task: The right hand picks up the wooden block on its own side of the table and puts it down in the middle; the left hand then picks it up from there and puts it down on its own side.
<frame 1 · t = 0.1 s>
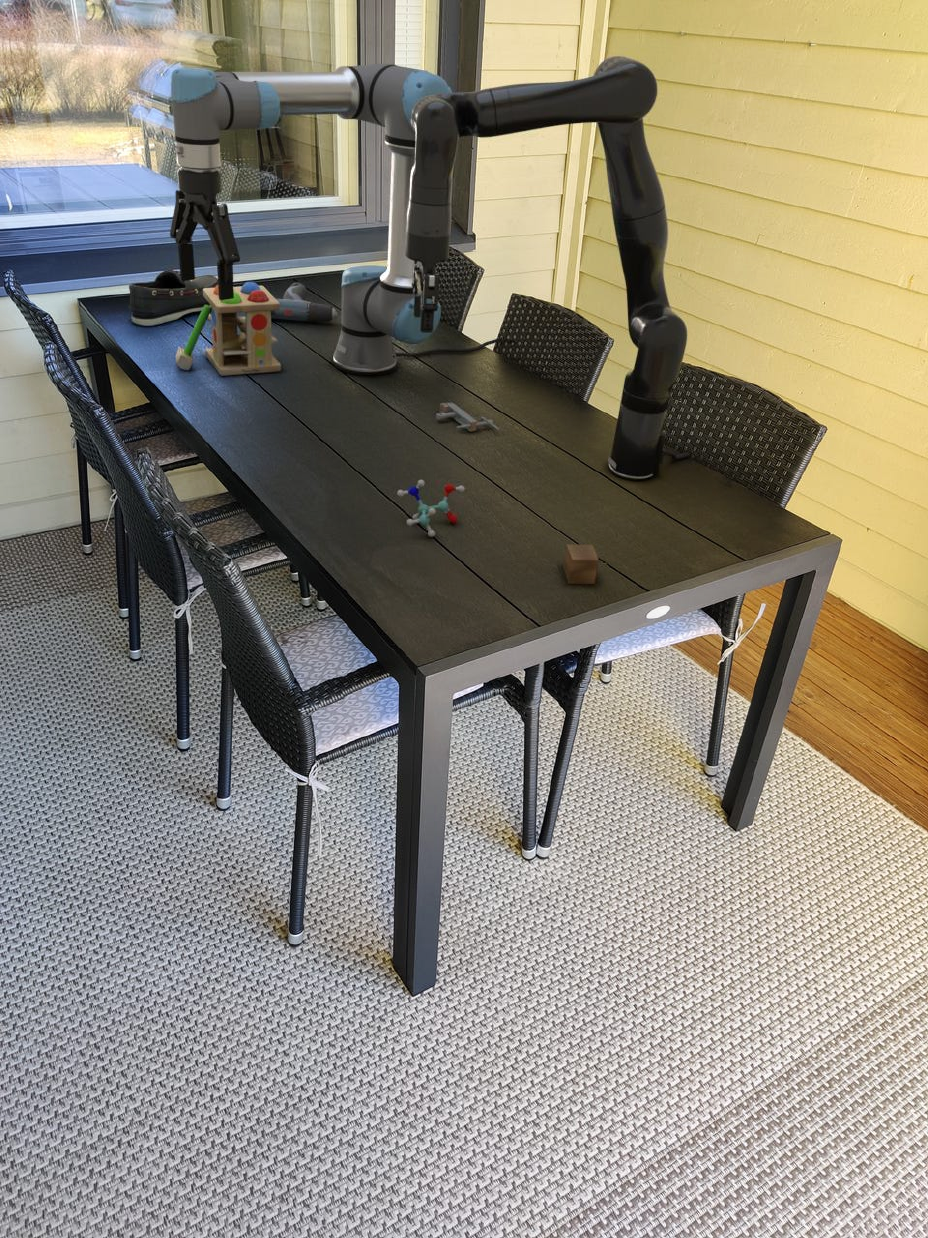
left hand: (206, 289, 186), 28 cm above the table, tool pointing down, fingers open, 13 cm apart
right hand: (422, 324, 175), 29 cm above the table, tool pointing down, fingers open, 8 cm apart
molecular model: (426, 524, 175), on the table
block: (578, 576, 165), on the table
power drill: (305, 313, 267), on the table
pounding bench toy: (225, 365, 230), on the table
boat shoe: (178, 310, 260), on the table
clamp: (464, 425, 213), on the table
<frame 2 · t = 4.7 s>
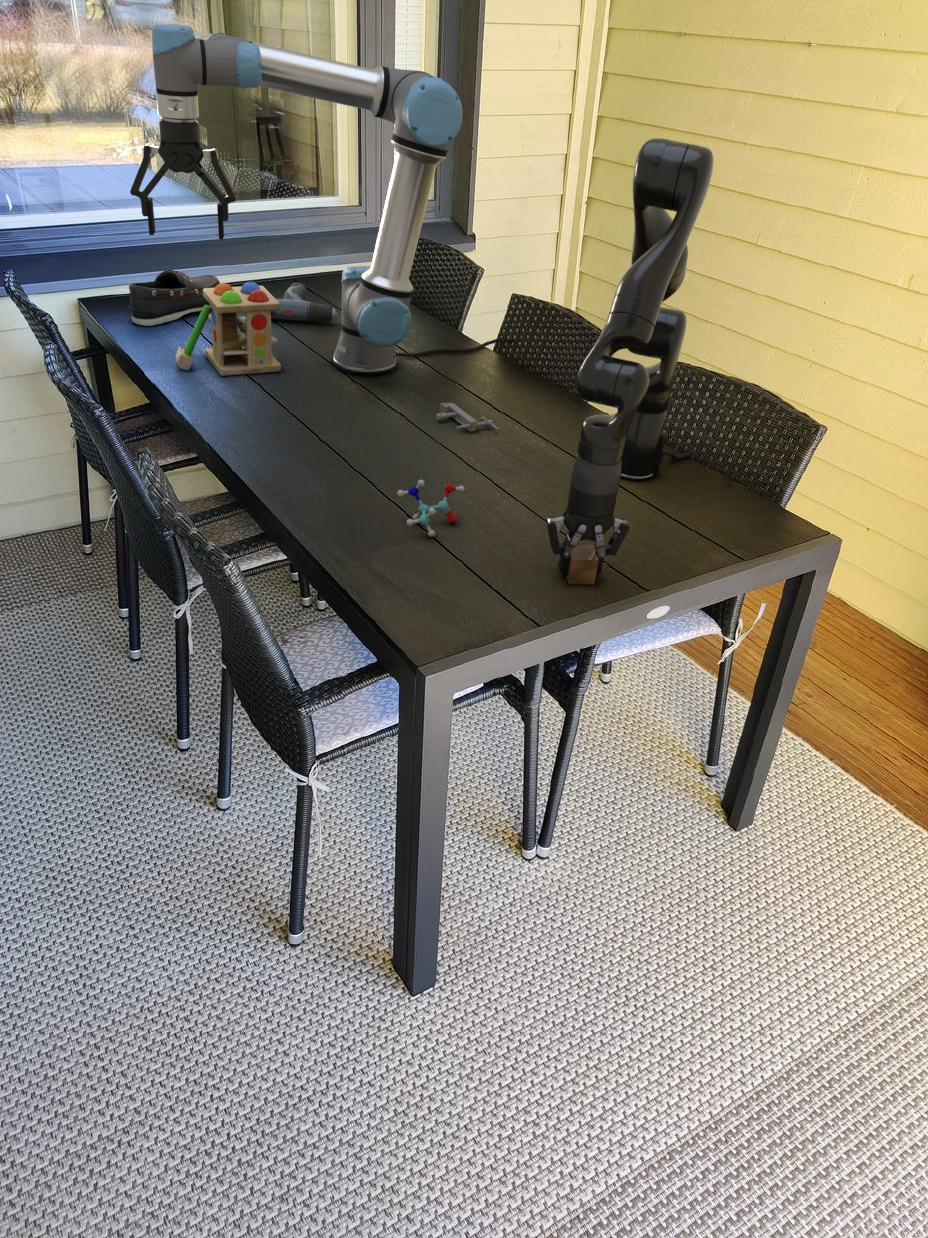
left hand: (187, 235, 198), 33 cm above the table, tool pointing down, fingers open, 13 cm apart
right hand: (579, 573, 164), 1 cm above the table, tool pointing down, fingers closed on block, 4 cm apart
block: (578, 576, 165), on the table, touching right hand
everything else where it was.
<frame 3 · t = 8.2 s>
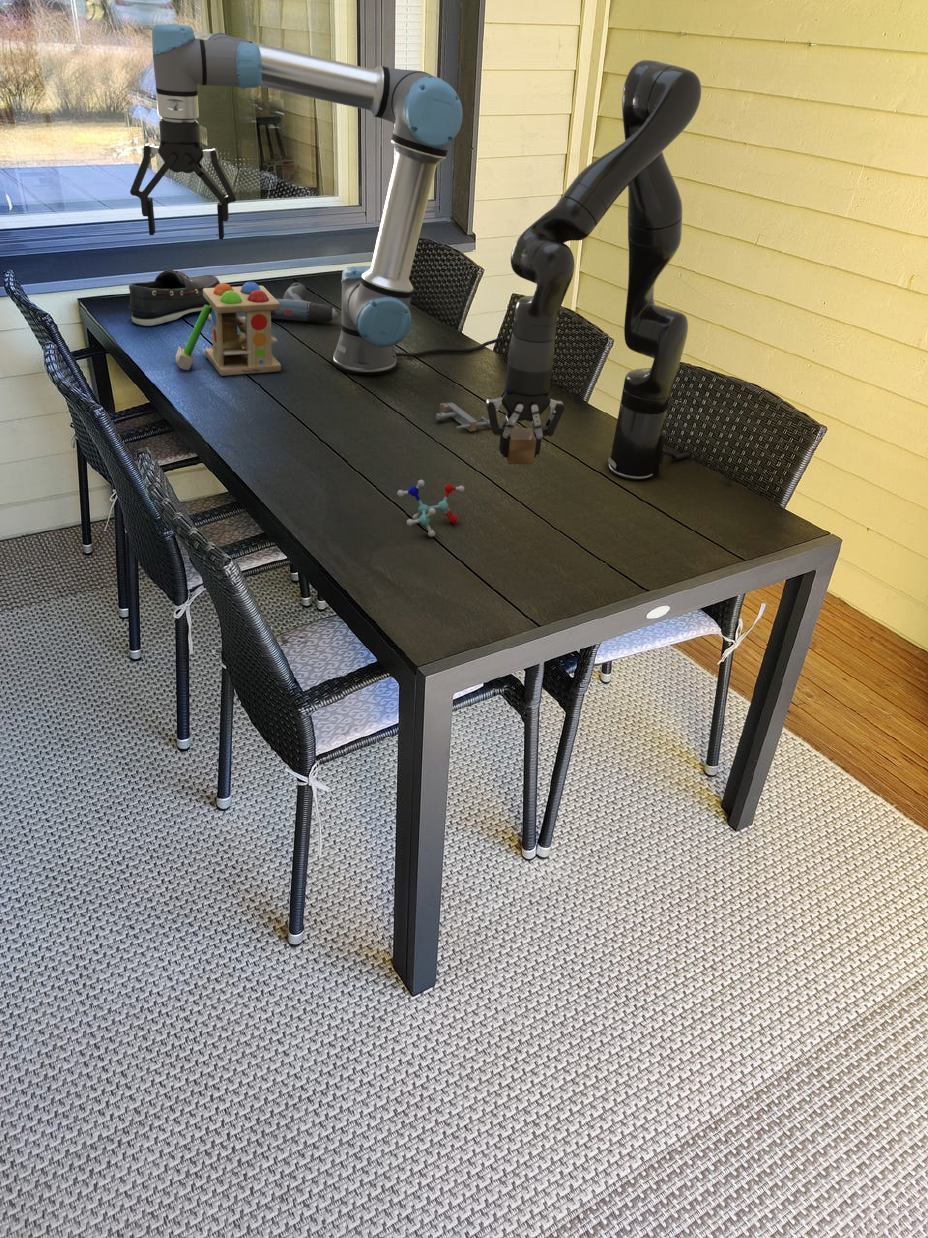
left hand: (187, 235, 198), 33 cm above the table, tool pointing down, fingers open, 13 cm apart
right hand: (518, 455, 173), 12 cm above the table, tool pointing down, fingers closed on block, 4 cm apart
block: (518, 458, 173), point 12 cm above the table, touching right hand
everything else where it was.
when the right hand's fingers open (1 cm above the table, at t = 11.7 s): block stays where it is, on the table.
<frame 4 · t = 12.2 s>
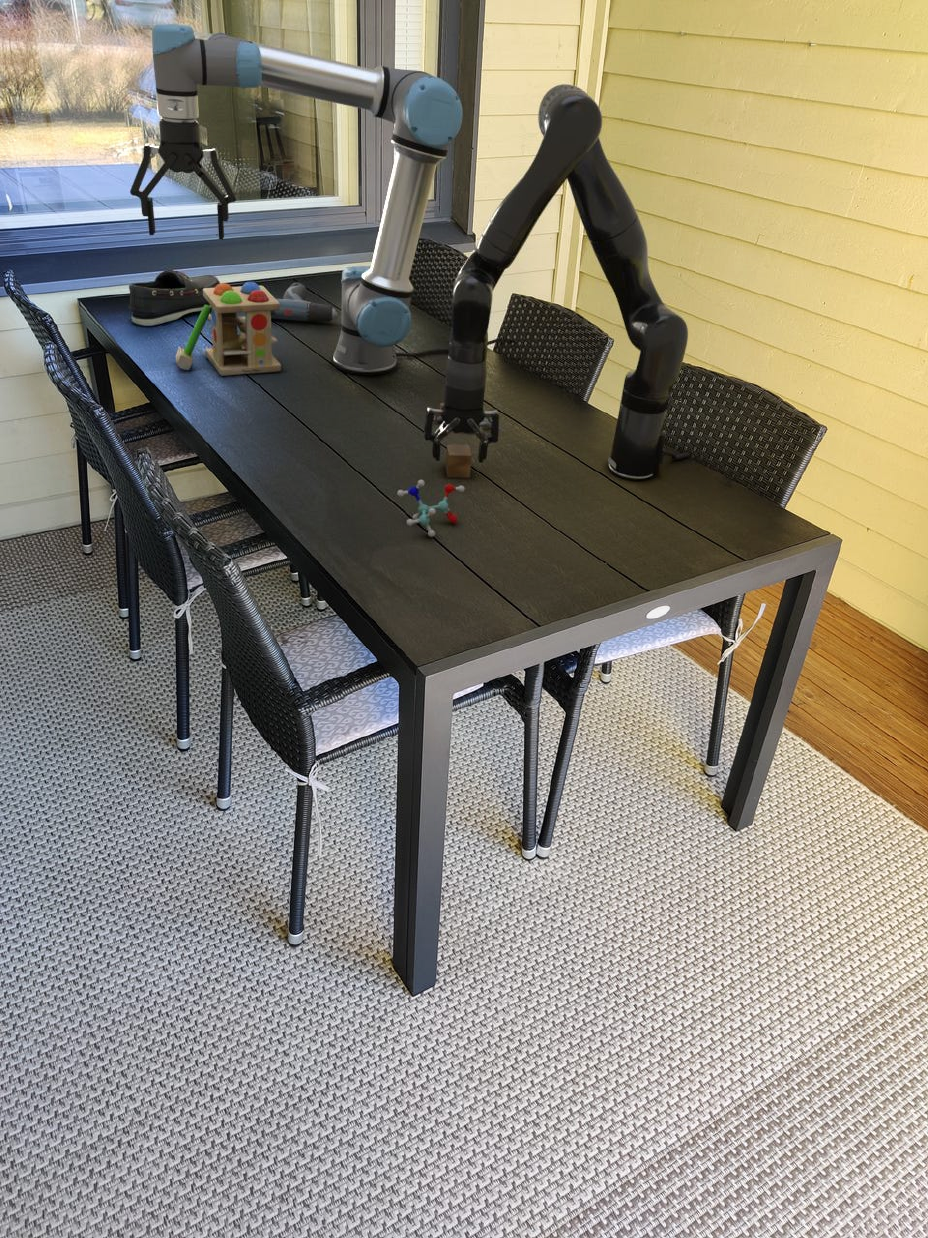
left hand: (187, 235, 198), 33 cm above the table, tool pointing down, fingers open, 13 cm apart
right hand: (459, 459, 192), 2 cm above the table, tool pointing down, fingers open, 8 cm apart
block: (457, 471, 194), on the table
everything else where it was.
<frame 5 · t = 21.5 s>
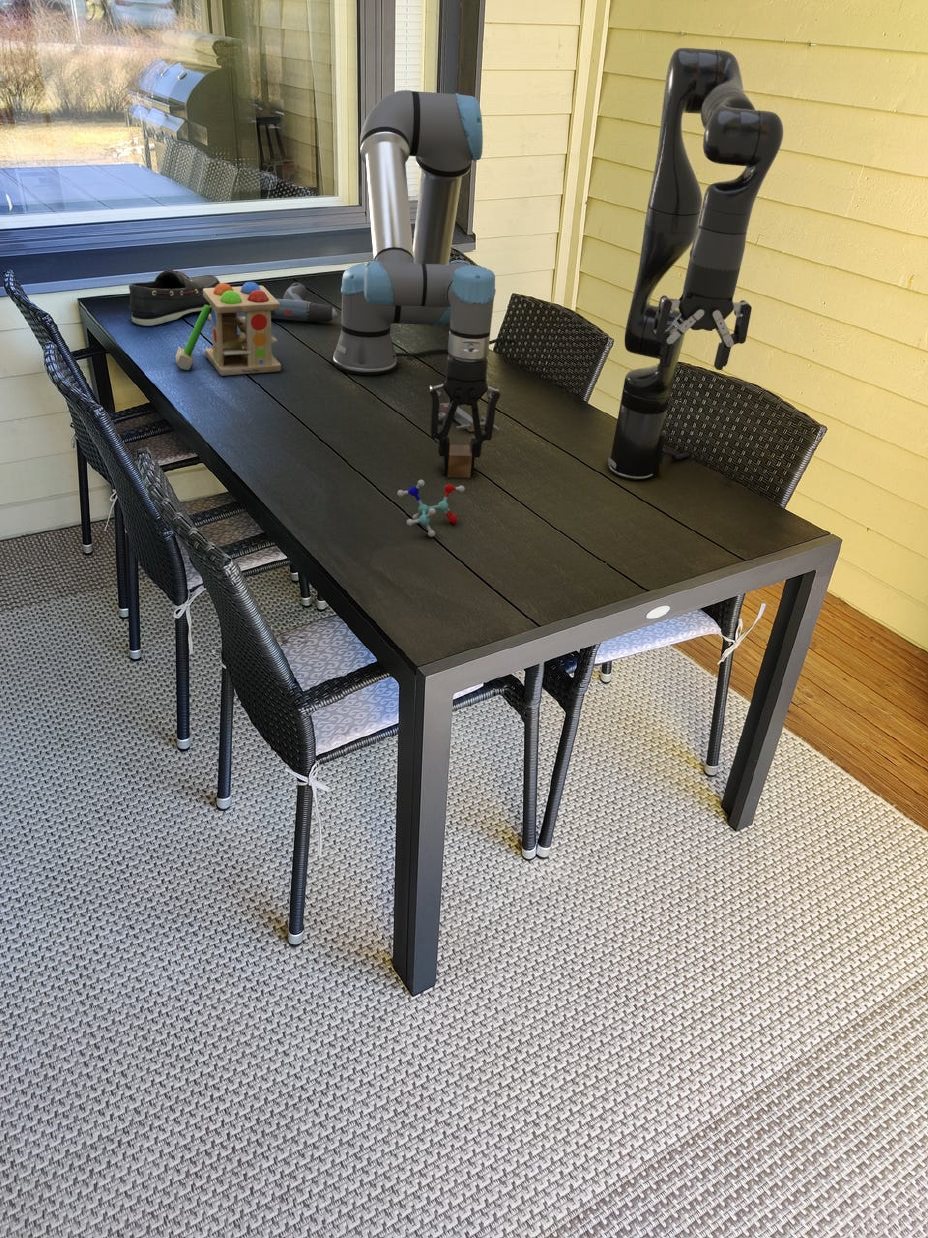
left hand: (457, 470, 193), 0 cm above the table, tool pointing down, fingers closed on block, 4 cm apart
right hand: (691, 366, 153), 34 cm above the table, tool pointing down, fingers open, 8 cm apart
block: (457, 472, 194), on the table, touching left hand
everything else where it was.
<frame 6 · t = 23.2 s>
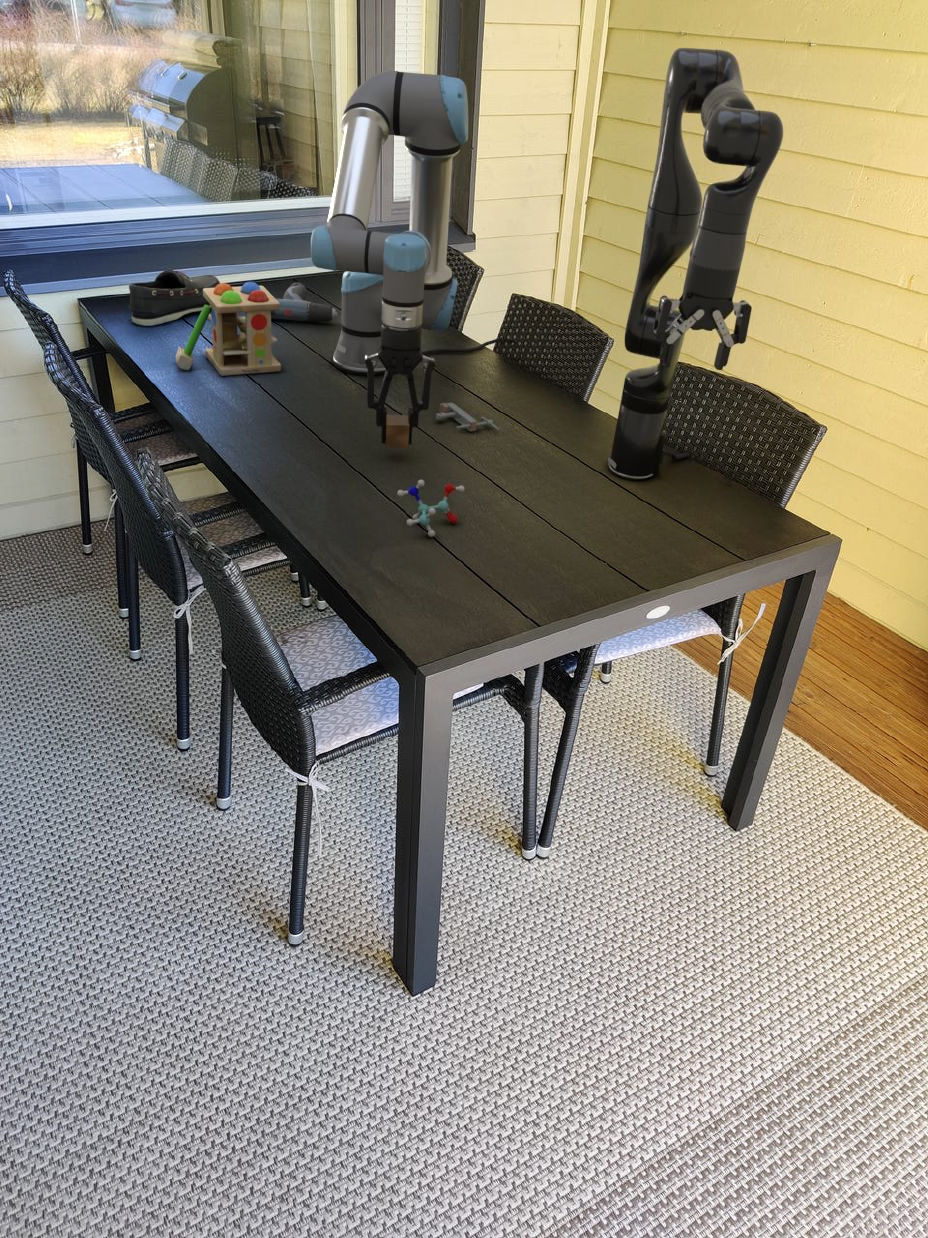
left hand: (396, 440, 194), 4 cm above the table, tool pointing down, fingers closed on block, 4 cm apart
right hand: (691, 366, 153), 34 cm above the table, tool pointing down, fingers open, 8 cm apart
block: (396, 441, 195), point 3 cm above the table, touching left hand
everything else where it was.
when the left hand's fingers open (1 cm above the table, at t = 25.0 s): block stays where it is, on the table.
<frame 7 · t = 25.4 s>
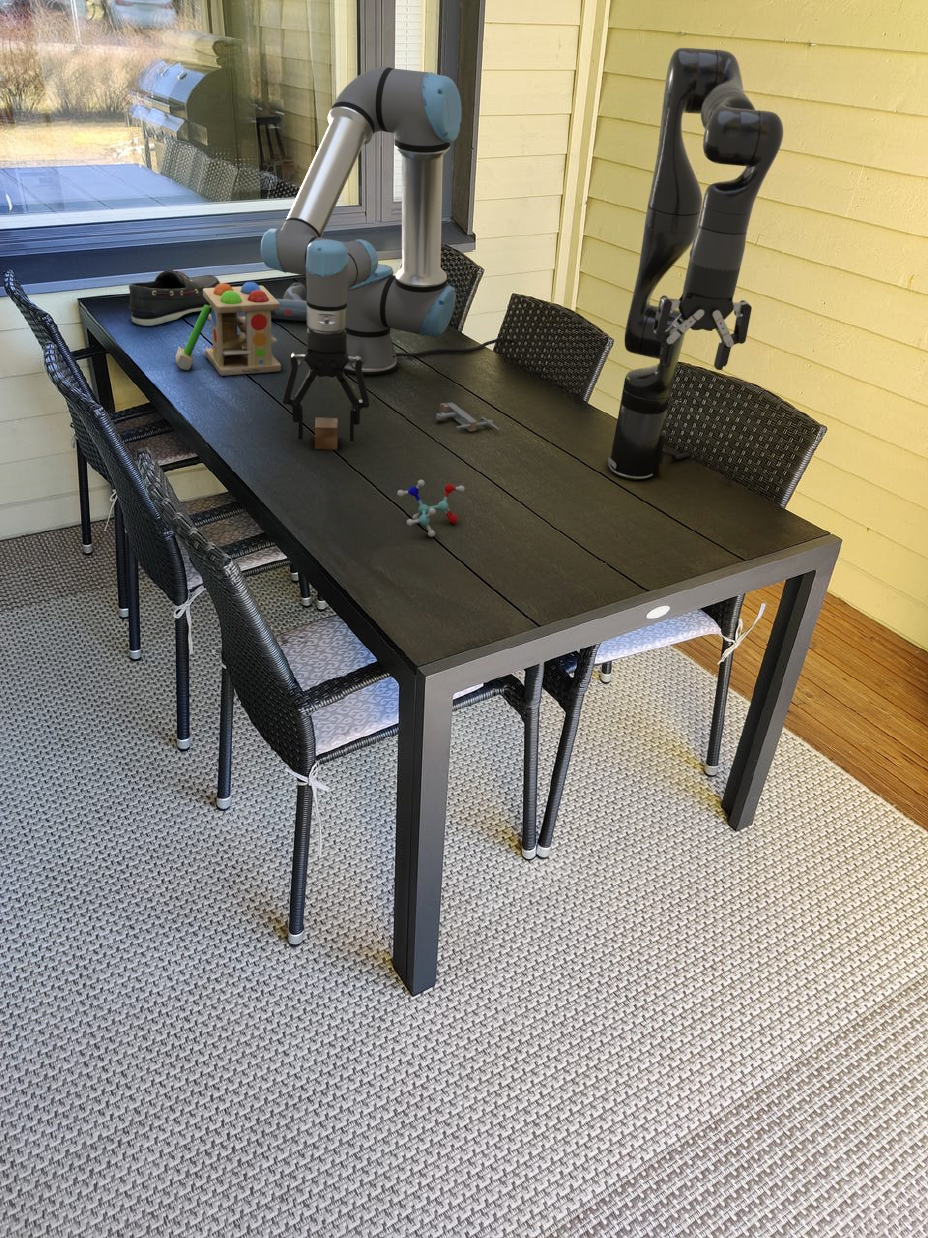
left hand: (326, 437, 198), 1 cm above the table, tool pointing down, fingers open, 9 cm apart
right hand: (691, 366, 153), 34 cm above the table, tool pointing down, fingers open, 8 cm apart
block: (326, 444, 199), on the table
everything else where it was.
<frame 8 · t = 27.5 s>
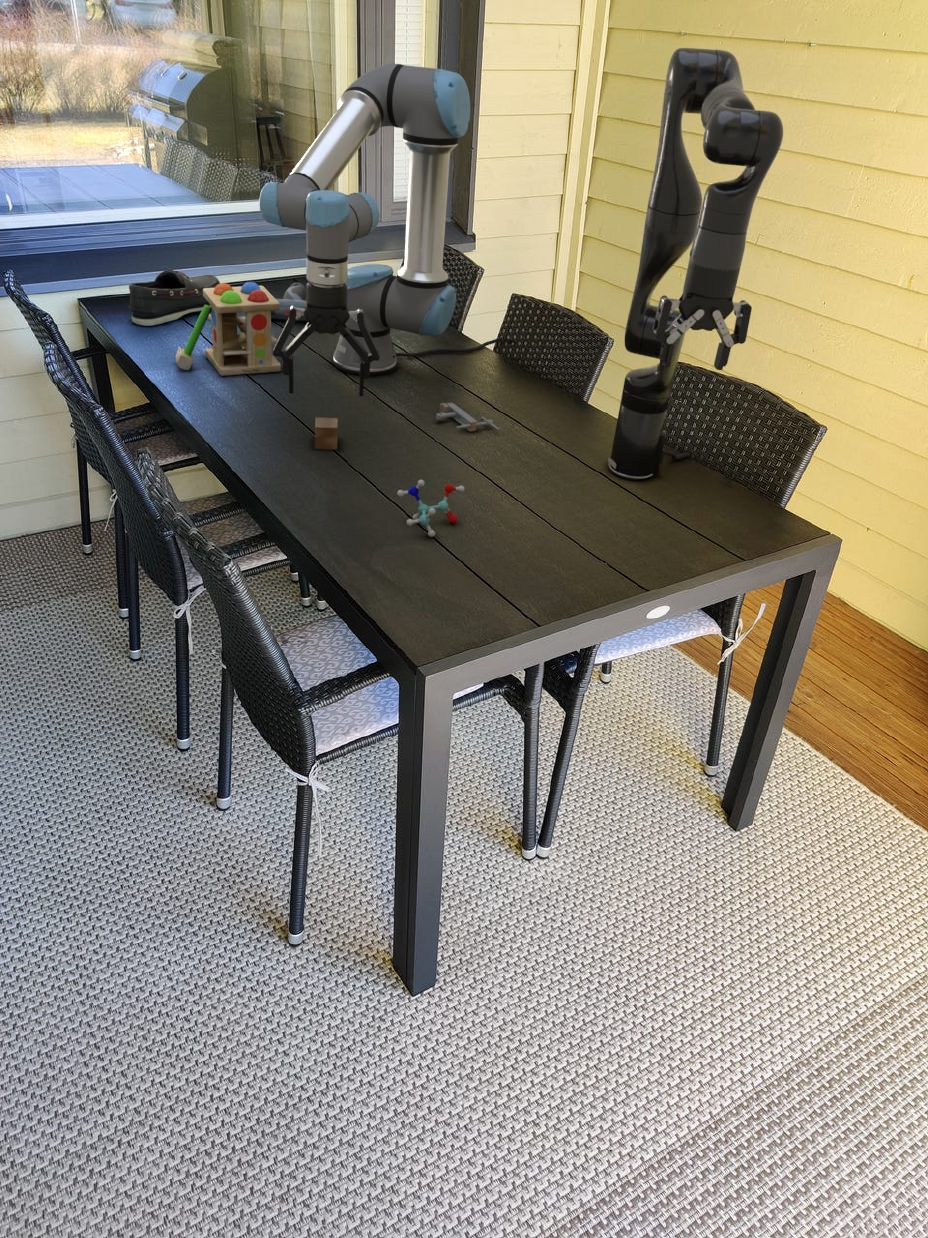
left hand: (326, 392, 193), 11 cm above the table, tool pointing down, fingers open, 13 cm apart
right hand: (691, 366, 153), 34 cm above the table, tool pointing down, fingers open, 8 cm apart
nothing on the table moved.
at the end: block inside the target area (0.1 cm from its centre), on the table; block tilted 0°; the two hands never held the block at the same time; the left hand is holding nothing; the right hand is holding nothing; block at rest at the end (0.0 cm/s) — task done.
